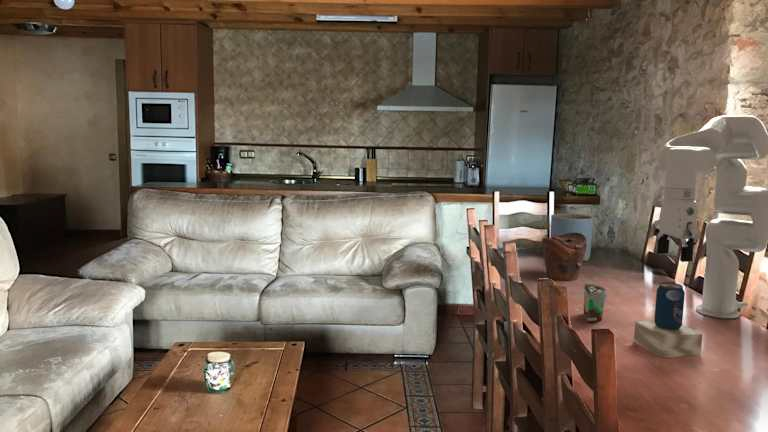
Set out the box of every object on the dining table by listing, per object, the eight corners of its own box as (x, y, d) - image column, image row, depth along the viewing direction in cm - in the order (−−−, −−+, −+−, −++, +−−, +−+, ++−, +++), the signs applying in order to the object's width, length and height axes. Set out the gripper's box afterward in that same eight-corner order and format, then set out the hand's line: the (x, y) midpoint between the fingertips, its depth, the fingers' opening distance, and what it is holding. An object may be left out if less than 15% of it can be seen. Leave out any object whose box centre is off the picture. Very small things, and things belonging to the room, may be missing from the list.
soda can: (680, 333, 158) (683, 289, 157) (651, 328, 162) (655, 285, 160) (683, 326, 164) (686, 284, 162) (656, 321, 168) (659, 280, 166)
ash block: (671, 339, 171) (673, 319, 170) (700, 355, 159) (702, 334, 158) (633, 341, 169) (635, 321, 168) (660, 357, 157) (661, 336, 156)
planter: (596, 262, 270) (599, 219, 268) (555, 262, 271) (557, 219, 268) (583, 254, 289) (586, 213, 286) (544, 253, 290) (546, 213, 287)
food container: (608, 325, 182) (610, 294, 181) (587, 324, 184) (589, 293, 182) (602, 313, 194) (604, 284, 193) (582, 312, 196) (584, 283, 194)
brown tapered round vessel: (535, 279, 237) (538, 235, 235) (542, 269, 256) (545, 228, 253) (582, 285, 231) (586, 240, 228) (585, 274, 249) (589, 232, 247)
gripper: (714, 198, 150) (708, 264, 152) (670, 190, 167) (666, 250, 169) (688, 198, 149) (682, 265, 151) (646, 191, 165) (642, 251, 168)
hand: (674, 257), depth 160 cm, fingers open, 9 cm apart
